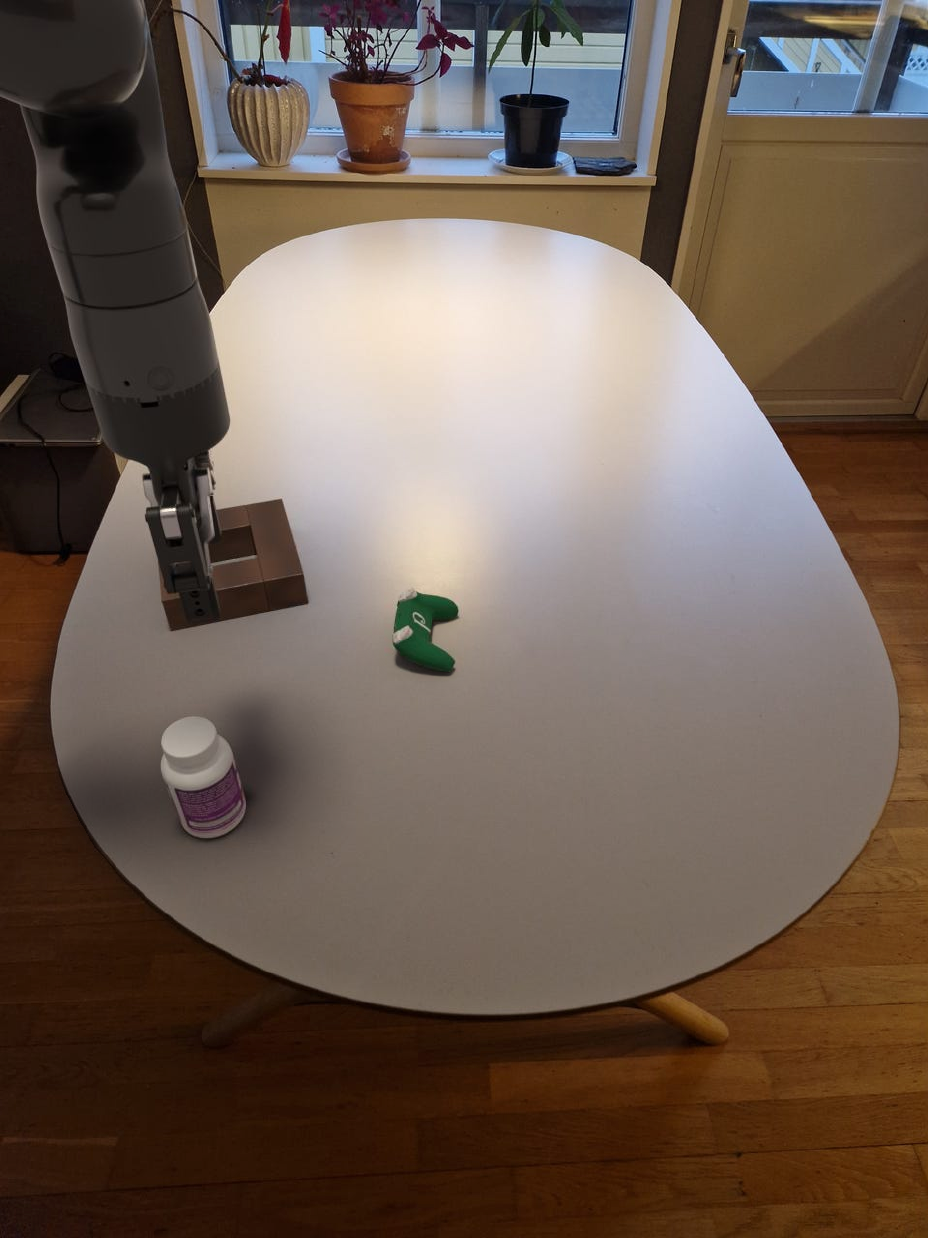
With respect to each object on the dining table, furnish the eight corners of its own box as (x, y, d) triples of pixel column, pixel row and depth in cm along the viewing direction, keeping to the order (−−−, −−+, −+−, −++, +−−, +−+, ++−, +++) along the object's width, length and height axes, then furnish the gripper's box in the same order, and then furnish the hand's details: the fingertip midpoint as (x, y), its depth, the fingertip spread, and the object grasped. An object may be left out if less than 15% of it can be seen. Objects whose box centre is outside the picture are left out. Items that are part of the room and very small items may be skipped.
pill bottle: (261, 803, 71) (241, 726, 64) (216, 851, 67) (190, 776, 61) (211, 775, 73) (187, 698, 66) (165, 821, 69) (135, 745, 63)
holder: (170, 631, 86) (161, 600, 83) (162, 549, 95) (153, 520, 93) (308, 603, 89) (303, 573, 86) (286, 527, 99) (281, 498, 96)
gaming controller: (436, 623, 89) (393, 591, 87) (462, 604, 88) (418, 571, 85) (430, 688, 83) (383, 656, 80) (458, 669, 81) (411, 635, 78)
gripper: (96, 315, 54) (157, 524, 65) (65, 430, 44) (143, 655, 55) (219, 306, 55) (258, 514, 66) (216, 416, 45) (262, 640, 56)
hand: (205, 578), depth 60 cm, fingers open, 8 cm apart
